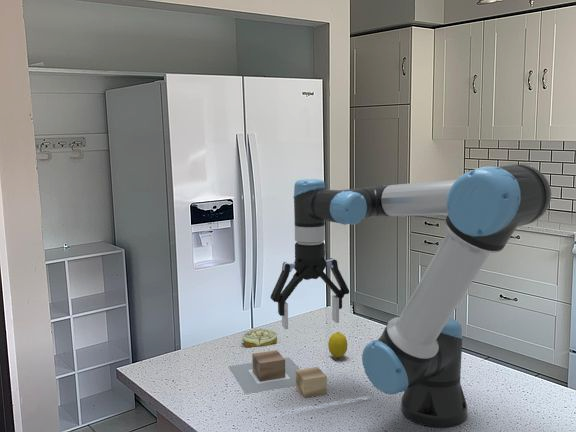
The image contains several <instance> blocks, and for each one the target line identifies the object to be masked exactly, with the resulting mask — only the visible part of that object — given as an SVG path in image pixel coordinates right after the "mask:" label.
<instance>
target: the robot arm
mask: <svg viewBox="0 0 576 432" xmlns="http://www.w3.org/2000/svg"><path fill="white" fill-rule="evenodd" d="M325 185H326V184H325V181H324V180H323V179H318V178H311V179H309V178H307V179H299V180H296V181H295V183H294V188H293V205H294V206H293V207H294V209H293V210H294V212H293V213H294V242H295V244H294V262H292V263H290V262H287V261H283V262H282V266H281V267H282V268H281V272H280V275H279V277H278V279H277V281H276V283H275V286H274V288H273V289H272V292H271V294H270V297H269V298H270V299H271V300H272V301H273V302H274V303H277V313H278V315H279V316H281V326H282V328H284V330H289V304H288V302H287V299H289V298H290V296H291V295H292V293H293V291H295V289H296V288H297V287H298V285H299V284H300V283H301V282H302V281H303V280H305V281H308V280H309V281H310V280H311V279H313V280H317V279H318V278H320V279H321V280H322V281H323V282H324V284H326V285H327V286H328V288H329V289H330V290H331V291H332V292H333V293H334V294H333V295H331V300H332V301H331V306H332V307H331V308H332V310H331V311H332V313H331V316H332V318H331V320H332V321H333V322H334V323H335V324H340V310H341V309H342V308H343V298H345V295H349V294H350V290H349V287H348V285H347V283H346V281H345V279H344V277H343V276H342V273H341V271H340V269H339V266H338V265H339V263H338V260H337V259H335V258H334V257H331V258H329V259H326V243H325V240H326V222H329V223H330V222H331V223H337V224H341V225H344V226H346V225H358V224H359V223H361V221H362V220H365V219H370V218H371V219H372V218H381V217H382V218H383V217H404V216H406V217H408V216H411V217H412V216H416V217H417V216H446V218H445V220H444V224H445V226H446V229H447V233H446V234H445V236H444V238H443V240H442V242H441V243H440V245H439V246H438V249H437V250H436V252H435V254H434V255H433V257H432V259H431V261H430V263H429V264H428V266H427V267H426V270H425V271H424V273H423V275H422V277H421V279H420V281H419V283H418V284H417V285H416V288H415V289H414V291H413V293H412V295H411V297H410V298H409V299H408V302H407V303H406V305H405V307H404V309H403V310H402V312H401V314H400V316H397V317H396V316H395V317H393V318H391V319H390V320H389V321H388V323H387V324H386V326H385V327H384V329H383V331H382V333H381V335H380V337H378V339H375V340H374V339H373V340H371V341H370V342H369V343H367V344H366V345H365V346H364V348H363V350H362V355H361V361H362V362H361V363H362V366H363V368H364V373H365V375H366V377H367V378H368V380H369V382H370V383H371V385H372V386H373V387H374V388H376V389H377V390H378V391H380V392H382V393H383V394H385V395H387V394H388V395H396V394H399V393H403V394H402V396H401V399H400V411H401V413H402V414H403V415H404V416H405V417H406V418H407V419H409V420H410V421H412V422H414V423H417V424H420V425H422V426H423V425H424V426H427V427H434V428H449V427H455V426H457V425H461V424H462V423H464V422H465V421H466V419H467V417H468V403H467V400H466V398H465V394H464V391H463V387H462V384H461V372H462V353H463V352H462V351H463V327H462V324H461V323H460V322H459V320H456V319H454V318H452V315H453V313H454V311H455V310H456V309H457V307H458V305H459V304H460V303H461V300H462V299H463V298H464V296H465V294H466V293H467V291H468V289H469V288H470V286H471V284H472V283H473V281H474V280H475V278H476V276H477V275H478V274H479V272H480V270H481V268H482V267H483V265H484V263H485V262H486V261H487V259H488V257H489V255H490V254H495V253H496V254H497V253H500V252H502V251H503V249H504V247H506V245H507V244H508V241H509V240H510V238H511V237H512V235H513V234H514V232H515V230H516V229H517V228H518V227H522V226H526V225H528V224H529V225H530V224H532V223H534V222H536V221H537V220H539V219H540V218H541V217H542V216H543V215H544V214H545V213H546V212H547V210H548V208H549V207H550V205H551V201H552V189H551V188H552V187H551V186H550V185H551V184H550V182H549V181H548V179H547V177H546V176H545V175H544V173H542V172H541V171H540V170H538V169H537V168H535V167H534V166H531V165H526V164H519V163H518V164H510V165H500V166H492V165H488V166H482V167H477V168H476V169H472V170H470V171H467V172H465V173H463V174H462V175H460V176H459V177H458V178H457V179H450V180H449V179H448V180H447V179H446V180H436V181H435V180H434V181H423V182H413V183H412V182H411V183H399V184H390V185H389V184H388V185H387V184H380V185H374V186H369V187H367V186H366V187H358V188H350V189H327V188H326V186H325ZM326 267H328V268H330V271H331V272H332V275H333V277H334V278H335V280H336V282H337V284H338V286H339V288H340V289H339V288H338V287H337V286H336V284H335V283H334V282H333V281H332V280H331V279H330V278H329V276H328V275H327V274H326V273H325V269H326ZM293 270H295V273H294V274H293V275H292V278H291V279H290V280H289V282H288V284H287V285H286V283H287V281H288V278H289V275H290V273H291V272H292V271H293ZM285 285H286V286H285Z"/></svg>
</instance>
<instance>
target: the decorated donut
mask: <svg viewBox="0 0 576 432" xmlns="http://www.w3.org/2000/svg"><path fill="white" fill-rule="evenodd" d="M241 341H242V342H243V344H244V346H245V347H246V348H248V349H251V348H257V347H259V348H260V347H266V346H273V345H275V344H276V343H277V341H278V334H277V332H275V331H274V330H271V329H267V328H255V329H251V330H249V331H247V332H246V333H245V334H244V335H243V336H242V338H241Z"/></svg>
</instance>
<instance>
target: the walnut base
mask: <svg viewBox="0 0 576 432" xmlns="http://www.w3.org/2000/svg"><path fill="white" fill-rule="evenodd" d="M251 356H252V357H251V358H252V363H253V372H254V374H255V375H256V376H257V378H258V379H259V381H260V382H261V381H267V380H273V379H279V378H285V359H284V358H285V357H284V356H283V355H282V354H281V352H279V351H278V349H275V350H269V351H261V352H253V353H252V355H251Z"/></svg>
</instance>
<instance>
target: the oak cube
mask: <svg viewBox="0 0 576 432" xmlns="http://www.w3.org/2000/svg"><path fill="white" fill-rule="evenodd" d="M299 369H300V370H296V386H295V388H296V390H297V391H298V392H299V394H300V395H301V396H302V397H303V398H304V399H305V398H311V397H317V396H323V395H327V394H328V393H327V391H328V389H327V387H328V386H327V385H328V383H327V381H328V380H327V379H328V376H327V374H326V373H325V372H323V371H322V370H321V369H320V368H319V367H318V366H313V367H306V368H299Z"/></svg>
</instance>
